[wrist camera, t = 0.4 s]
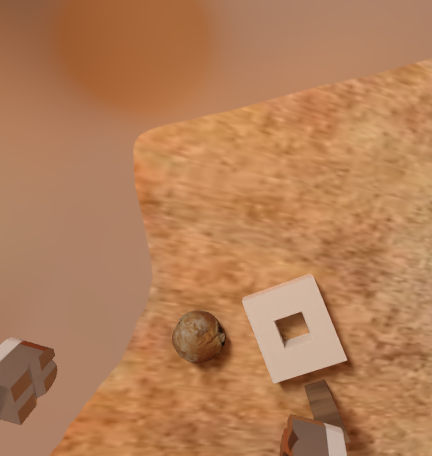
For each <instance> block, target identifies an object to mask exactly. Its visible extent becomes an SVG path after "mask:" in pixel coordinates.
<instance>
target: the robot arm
mask: <svg viewBox="0 0 432 456" xmlns="http://www.w3.org/2000/svg"><path fill="white" fill-rule="evenodd" d="M54 356H55V353H54V349H51V348H48V347H45V346H41V345H38V344H34V343H31V342H27V341H24V340H21V339H17V338H14V337H11V338H10V339H7V340H5V341H4V342H3V343H2V344H1V345H0V419H1V420H4V421H8V422H11V423H15V424H19V425H21V424H22V423H23V422H24V421H25V419H26V418H27V417H28V416H29V414H30V413H31V412H32V410H33V409H34V408H35V407H36V404H37V398H38V397H40V396H42V395H44V394H46V392H47V391H48V390H49V388H50V387H51V386H52V384H53V382H54V380H55V378H56V375H57V365H56V363H55V362H54V361H53V360H52V359H53V357H54ZM280 456H347V451H346V445H345V439H344V433H343V431H342V429H341V428H340V427H338V426H334V425H330V424H326V423H323V422H321V421H317V420H313V419H309V418H305V417H301V416H297V415H293V414H290V415H289V418H288V420H287V428H286V429H284V431H283V435H282V439H281V445H280Z"/></svg>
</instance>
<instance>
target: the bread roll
mask: <svg viewBox="0 0 432 456" xmlns="http://www.w3.org/2000/svg"><path fill="white" fill-rule="evenodd" d="M180 320H181V322H179V323H178V324H177V327H176V328H175V330H174V332H173V336H172V341H173V345H174V347H175V349H176V351H177V352H178V354H179V355H180V356H181V357H182V358H184V359H186V360H188V361H191V362H195V363H201V362H206V361H208V360H211V359H212V358H213V357H215V356H216V354H218V355H219V353H220V349H221V348H222V346H224V344H225V339H224V338H225V335H224V333H222V329H221V328H220V327H219V323H218V321H217V320H216V318H215V317H214V316H213V315H212V314H210V313H209V312H205V311H191V312H189V313H187V314H185V315H183V316H182V317H181V318H180Z"/></svg>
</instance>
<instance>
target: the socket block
mask: <svg viewBox="0 0 432 456" xmlns="http://www.w3.org/2000/svg"><path fill="white" fill-rule="evenodd" d="M242 303H243V305H244V308H245V311H246V313H247V316H248V318H249V321H250V324H251V326H252V329H253V332H254V334H255V337H256V339H257V342H258V345H259V347H260V350H261V352H262V355H263V358H264V360H265V363H266V365H267V368H268V371H269V373H270V376H271V378H272V381H273V384H274V383H277V382H280V381H284V380H287V379H290V378H293V377H296V376H299V375H303V374H306V373H309V372H312V371H315V370H318V369H322V368H325V367H328V366H331V365H334V364H337V363H341V362H344V361H347V358H346V356H345V353H344V351H343V348H342V346H341V343H340V341H339V338H338V336H337V333H336V331H335V329H334V326H333V324H332V321H331V319H330V316H329V314H328V311H327V309H326V306H325V304H324V301H323V299H322V296H321V294H320V292H319V289H318V287H317V284H316V282H315V279H314V277H313V276H312V275H311V274H307V275H304V276H301V277H299V278H296V279H293V280H290V281H288V282H285V283H282V284H279V285H276V286H274V287H271V288H268V289H265V290H262V291H260V292H257V293H254V294H251V295H249V296H246V297H243V300H242ZM299 312H301V313H302V315H303V318H304V320H305V323H306V325H307V328H308V330H309V333H307V334H304V335H301V336H298V337H295V338H292V339H289V340H286V341H283V339H282V337H281V334H280V332H279V329H278V327H277V324H276V321H275V320H278V319H281V318H284V317H287V316H290V315H293V314H296V313H299Z"/></svg>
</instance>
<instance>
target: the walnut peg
mask: <svg viewBox="0 0 432 456" xmlns="http://www.w3.org/2000/svg"><path fill="white" fill-rule="evenodd" d="M305 389H306V393H307V396H308V400H309V403H310V407H311V410H312V413H313V417H314V420H317V421H321V422H323V423H326V424H330V425H334V426H338V427H340V428H341V429H342V431H343V433H344V439H345V443H349V442H350V439H349V437H348V434H347V432H346V429H345V427H344V424H343V421H342V419H341V416H340V414H339V412H338V410H337V407H336V405H335V403H334V401H333V398H332V396H331V394H330V391H329V389H328V387H327V385H326V382H325V380H322V381H319V382H316V383H313V384H309V385H306V386H305Z"/></svg>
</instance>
